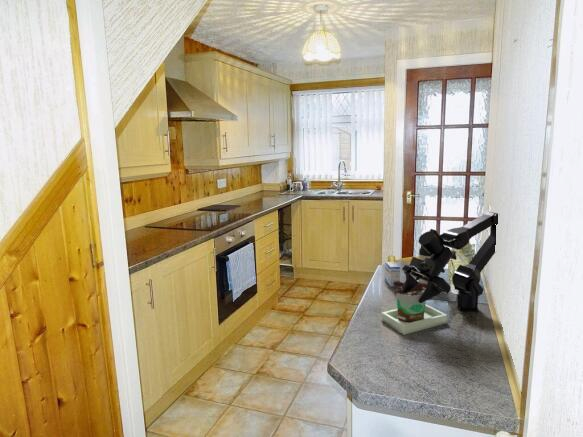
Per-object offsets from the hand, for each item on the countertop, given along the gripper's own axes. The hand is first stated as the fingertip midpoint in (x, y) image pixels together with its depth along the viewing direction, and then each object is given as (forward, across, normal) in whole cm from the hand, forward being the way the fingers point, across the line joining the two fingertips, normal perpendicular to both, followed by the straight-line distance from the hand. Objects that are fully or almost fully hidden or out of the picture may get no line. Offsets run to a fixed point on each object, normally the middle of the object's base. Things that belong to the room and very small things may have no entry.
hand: (411, 298), depth 142 cm
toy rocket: (-6, -20, +18) cm, 28 cm away
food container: (+5, 0, +7) cm, 8 cm away
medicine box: (-6, -35, +19) cm, 40 cm away
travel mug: (-16, -27, +28) cm, 42 cm away
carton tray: (+5, 0, +7) cm, 9 cm away
